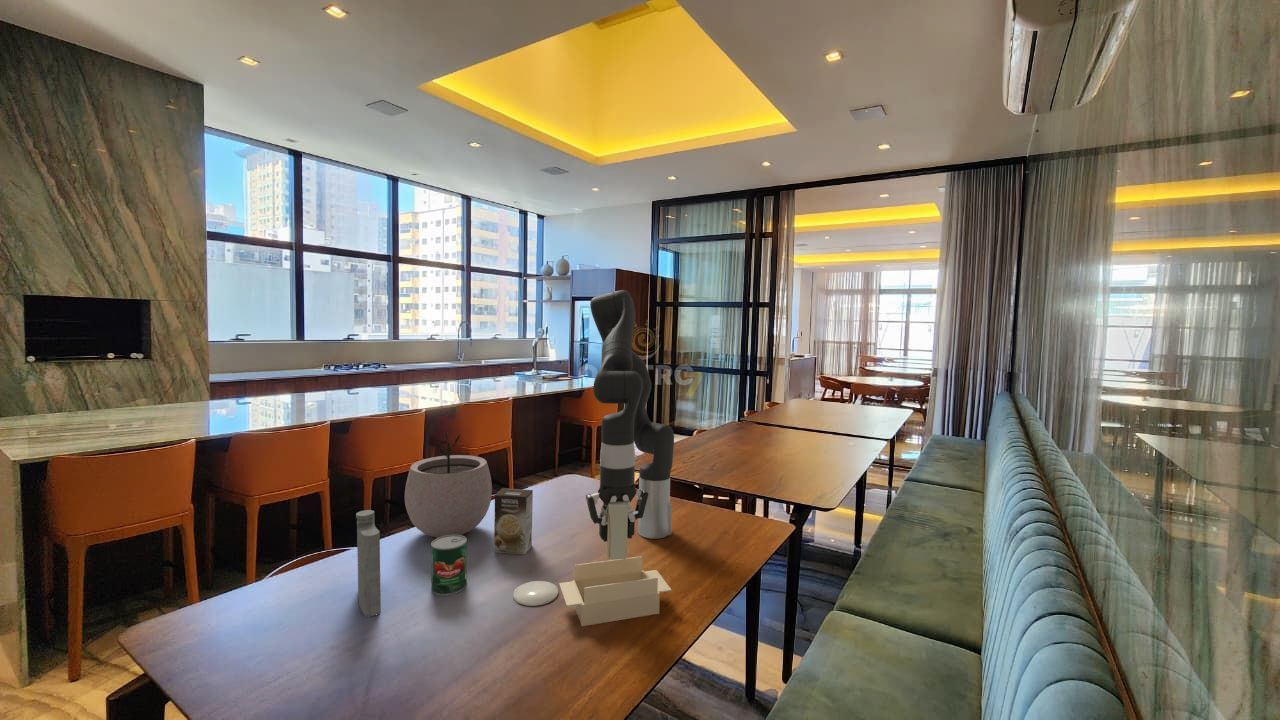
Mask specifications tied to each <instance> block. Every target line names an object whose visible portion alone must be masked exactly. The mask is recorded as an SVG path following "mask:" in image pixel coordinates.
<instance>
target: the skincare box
mask: <svg viewBox="0 0 1280 720" xmlns="http://www.w3.org/2000/svg"><path fill="white" fill-rule="evenodd" d="M607 525H608V534H607V541H606V559H607V560H616V559H627V558H628V557H627V555H628V554H627V553H628V537H627V530H628V502H625V503H624V502H623V501H621V502H615V503H613V504H608V521H607Z"/></svg>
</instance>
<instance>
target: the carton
mask: <svg viewBox="0 0 1280 720" xmlns="http://www.w3.org/2000/svg"><path fill="white" fill-rule="evenodd" d="M573 574H574V575H573V579H572V580H571V581H565V582H559V583H558V585H559V588H560V591H561V594H562V597H563V600H564V602H565V605H566V608H568V607H569V608H570V607H574V609H575V611H576V614H577V617H578V620H579V622H580V625H581V627H586V626H592V625H598V624H605V623H610V622H615V621H622V620H627V619H634V618H641V617H647V616H652V615H653V616H654V615H660V603H661V602H660V599H661V593H667V592H672V589H671V587H670V585H668V583H667V582H666V581H665V579H664V577H663V576H662V575H661V574H660V573H659V571H658V570H657V569H653V570H643V556H641V555H640V556H634V557H627V559H607V560H603V561H602V560H601V561H593V562H586V563H578V564H574V573H573Z"/></svg>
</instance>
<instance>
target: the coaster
mask: <svg viewBox="0 0 1280 720" xmlns="http://www.w3.org/2000/svg"><path fill="white" fill-rule="evenodd" d="M558 595H559V589H558V586H557V585H555V584H554V583H552V582H550V581H546V580H545V581H544V580H534V581H528V582H524V583H522V584H521V585H519V586H517V587H515V589H514V591H513V600H514V601H515V602H516V603H518V604H519V605H523V606H525V607H526V606H527V607H528V606H529V607H537V606H542V605H546V604H549V603H551V602H553V601H554V600H556V599H557V597H558Z"/></svg>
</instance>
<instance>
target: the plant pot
mask: <svg viewBox="0 0 1280 720" xmlns="http://www.w3.org/2000/svg"><path fill="white" fill-rule="evenodd" d="M460 437H461V434H459V435H458V436H457V437H456V438H455V440H454V444H453V445H451V446H450V444H451V443H450V441H449V438H448V434H447V432H445V438H446V440H447V441H440V443H441V444H446V445H447V448H446V449H447V450H446V451H447V454H446V453H445V452H444V451H443V450H442V449H441V448H439V449H438V450H439V452H440V453H443V455H440V456H435V457H429V458H424V459H421V460H418V461H416V462H414V463H412V464H411V465H410V467H409V471H408V474H407V479H406V482H405V489H404V504H405V509H406V513H407V514H408V518H409V519H410V522H411V523H412V525H413V526H414V528H416V529H417V530H418V531H420V532H421V533H422V534H425V535H427V536H429V537H433V538H439V537H442V536H446V535H462V536H464V535H465V534H467V533H469V532H471V531H472V530H473V529H475V528H476V527H477V526H478V525H479V524H480V523H481V522H482V521H483V519H484V518H485V517H486V516H487V513H488V511H489V508H490V505H491V501H492V490H493V485H492V477H491V472H490V469H489V465H488V461H487V459H485V458H483V457H480V456H476V455H467V454H464V455H463V454H456V455H455V454H451V453H450V450H452V449H453V448H455V447H456V444H457V442H458V441H459V439H460Z"/></svg>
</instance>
